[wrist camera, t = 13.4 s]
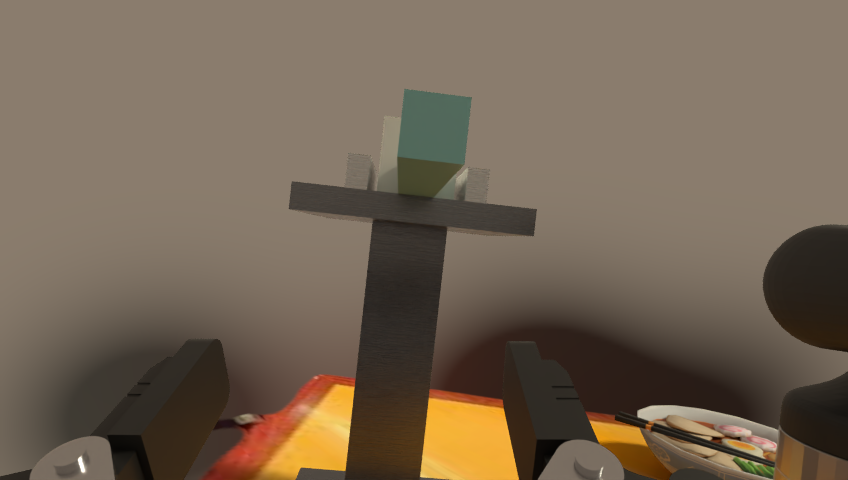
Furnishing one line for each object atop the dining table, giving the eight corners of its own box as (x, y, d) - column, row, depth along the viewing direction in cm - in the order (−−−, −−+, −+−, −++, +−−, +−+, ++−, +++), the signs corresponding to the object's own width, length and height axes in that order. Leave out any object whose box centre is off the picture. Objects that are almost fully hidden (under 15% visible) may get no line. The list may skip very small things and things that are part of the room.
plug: (443, 208, 44) (450, 145, 44) (507, 169, 18) (524, 15, 18) (380, 200, 43) (387, 137, 43) (352, 151, 18) (369, -6, 17)
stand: (458, 497, 52) (491, 196, 52) (489, 636, 34) (540, 175, 34) (298, 485, 51) (332, 177, 51) (244, 620, 33) (295, 146, 33)
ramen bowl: (843, 501, 62) (850, 441, 61) (869, 595, 43) (879, 509, 43) (642, 436, 77) (648, 387, 77) (600, 485, 59) (607, 421, 59)
